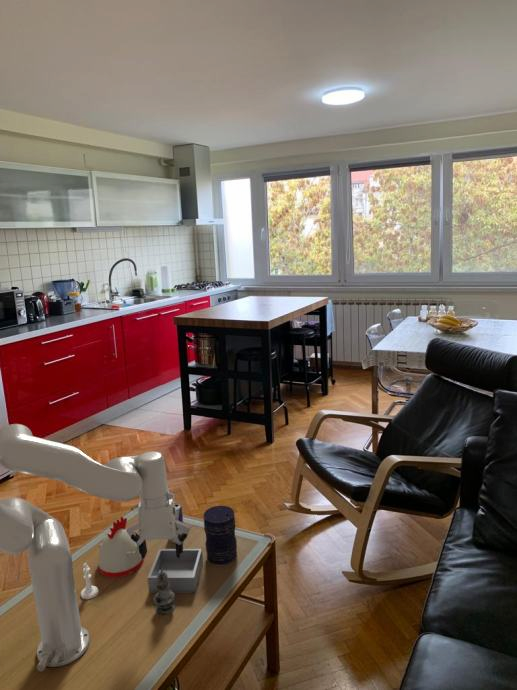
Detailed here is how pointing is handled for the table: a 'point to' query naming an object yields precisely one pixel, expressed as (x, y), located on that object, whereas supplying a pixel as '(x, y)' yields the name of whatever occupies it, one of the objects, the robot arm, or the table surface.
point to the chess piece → (88, 585)
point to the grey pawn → (164, 595)
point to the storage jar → (220, 535)
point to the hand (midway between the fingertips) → (161, 555)
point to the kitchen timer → (119, 552)
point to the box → (177, 570)
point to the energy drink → (180, 517)
